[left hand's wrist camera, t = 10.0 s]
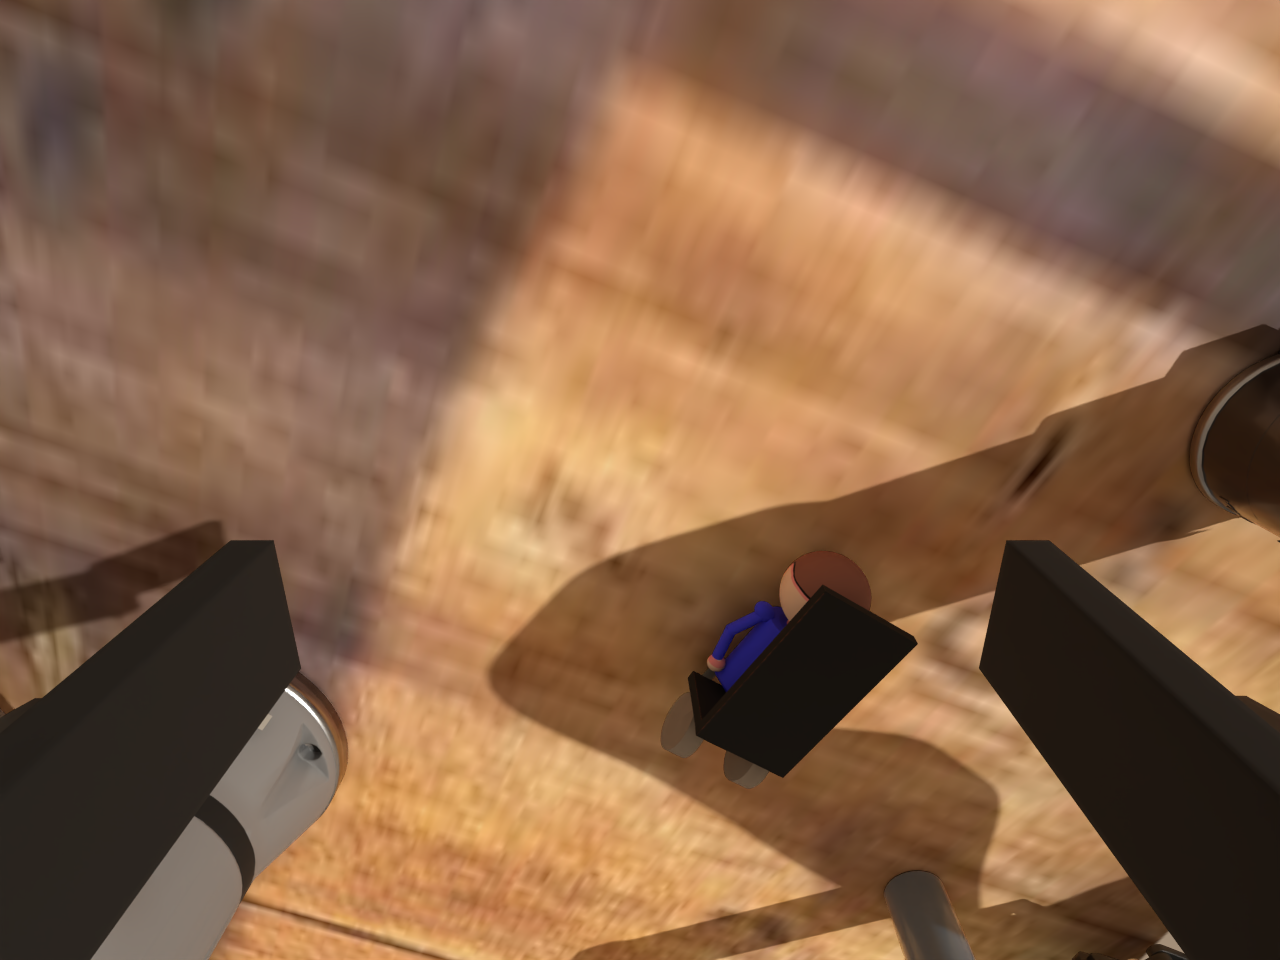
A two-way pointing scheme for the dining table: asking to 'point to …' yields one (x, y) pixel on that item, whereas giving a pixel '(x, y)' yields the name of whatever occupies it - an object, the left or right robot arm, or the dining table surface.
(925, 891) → the grey cylinder
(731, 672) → the figurine character
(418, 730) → the dining table surface
